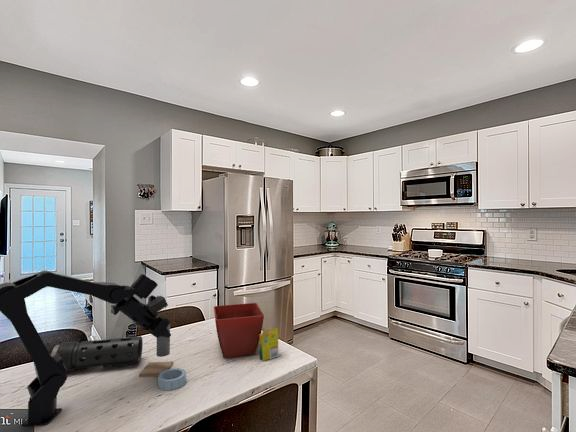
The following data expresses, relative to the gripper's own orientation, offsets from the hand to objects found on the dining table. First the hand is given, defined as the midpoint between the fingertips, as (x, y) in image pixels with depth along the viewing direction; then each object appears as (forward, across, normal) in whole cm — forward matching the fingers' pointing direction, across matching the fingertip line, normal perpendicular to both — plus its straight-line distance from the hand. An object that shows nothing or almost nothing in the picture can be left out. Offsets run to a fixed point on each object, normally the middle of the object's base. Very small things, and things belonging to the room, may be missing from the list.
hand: (167, 334), depth 110 cm
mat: (+8, +4, +11) cm, 14 cm away
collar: (+8, -9, +11) cm, 16 cm away
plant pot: (+30, -4, -11) cm, 32 cm away
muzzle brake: (-1, +22, +21) cm, 30 cm away
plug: (+4, 0, +6) cm, 7 cm away
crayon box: (+33, -18, -14) cm, 40 cm away
